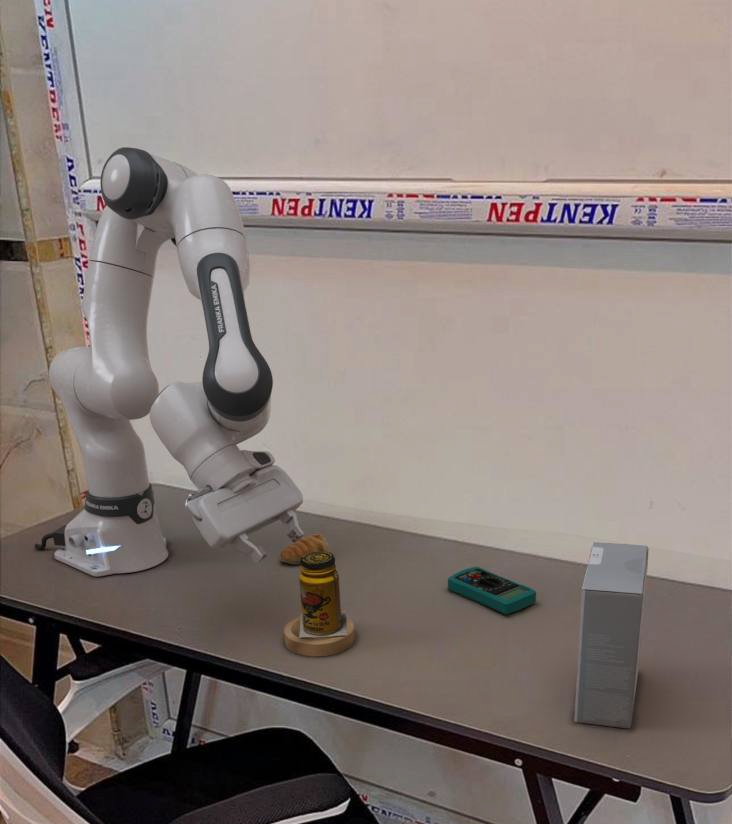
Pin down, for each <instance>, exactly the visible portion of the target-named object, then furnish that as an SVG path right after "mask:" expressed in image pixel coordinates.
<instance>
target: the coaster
mask: <svg viewBox="0 0 732 824" xmlns="http://www.w3.org/2000/svg"><path fill="white" fill-rule="evenodd" d="M300 621H301V615H298V616H296V617H294V618H293V619H291V620H289V621H288V622H287V623H286V624H285V625H284V628H283V637H284V638H283V639H284V644H285V647H286V648H287V649H288V650H289V651H290V652H291V653H294V654H297V655H300V656H304V657H314V658H317V657H329V656H333V655H337V654H340V653H342V652H344V651H347V650H348V649H350V648H351V646H353V644H354V642H355V640H356V635H355V624H354V621H352V620H351V618H349V617H347V616H346V621H347V635H339V636H330V637H329V636H328V637H302V638H300V637H299V636H300Z"/></svg>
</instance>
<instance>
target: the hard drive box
mask: <svg viewBox="0 0 732 824" xmlns="http://www.w3.org/2000/svg"><path fill="white" fill-rule="evenodd" d="M649 552H650V551H649V547H648V546H647V545H645V544H644V545H642V544H641V545H640V544H627V543H614V542H600V541H599V542H597V541H596V542H595V541H594V542H592V546H591V549H590V552H589V558H588V563H587V568H586V571H585V575H584V578H583V583H582V587H581V599H580V600H581V603H580V617H579V618H580V621H579V637H578V638H579V639H578V653H577V668H576V669H577V670H576V684H575V685H576V686H575V687H576V688H575V701H574V702H575V703H574V719H573V720H574V722H575V723H579V724H589V725H596V726H605V727H613V728H621V729H631V728H632V722H633V714H634V713H633V712H634V705H635V698H636V691H637V685H638V684H637V683H638V676H639V670H640V660H641V658H640V657H641V648H642V647H641V645H642V635H643V626H644V613H645V603H646V602H645V600H646V588H647V577H648V565H649Z"/></svg>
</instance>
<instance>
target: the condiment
mask: <svg viewBox="0 0 732 824" xmlns="http://www.w3.org/2000/svg"><path fill="white" fill-rule="evenodd" d="M300 563H301V564H300V574H299V576H298V581H299V590H300V605H301V607H300V608H301V613H300V616H301V621H300V636H299V637H300V638H302V637H328V636H329V637H330V636H339V635H347V621H346V617H347V610H342V609H341V608H342V607H341V593H340V575H339V572H338V571H337V566H336V557H335V555H334V554H333V553H332V552H331V553H328V552H323V551H316V552H311V553H308V554H305V555H304V556H302V557H301V560H300Z"/></svg>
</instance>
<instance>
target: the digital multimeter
mask: <svg viewBox="0 0 732 824" xmlns="http://www.w3.org/2000/svg"><path fill="white" fill-rule="evenodd" d="M447 590H449V591H450V592H453V593H455V594H458V595H459V596H462V597H465V598H466V599H469V600H472V601H474V602H476V603H479V604H481V605H482V606H485V607H487V608H489V609H492V610H494V611H496V612H499V613H501V614H503V615H506V616H507V615H510V614H513V613H515V612H517V611H521V610H522V609H524V608H526V607H529V606H531V605H533V604H534V603H536V601H537V591H536V590H535V589H533V588H531V587H529V586H526V585H524V584H521V583H519V582H516V581H513V580H510V579H509V578H505V577H503V576H500V575H498V574H496V573H493V572H491V571H489V570H486V569H485V568H482V567H479V566H473V567H468V568H465V569H462V570H460V571H458V572H456V573H454V574H452V575H451V576H449V577H448V578H447Z"/></svg>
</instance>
